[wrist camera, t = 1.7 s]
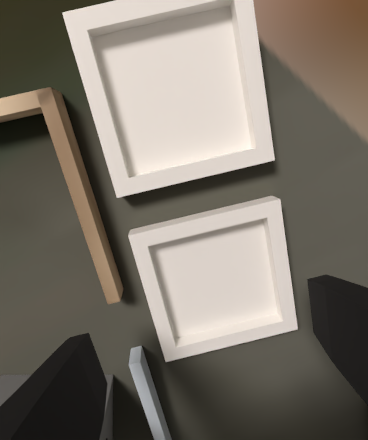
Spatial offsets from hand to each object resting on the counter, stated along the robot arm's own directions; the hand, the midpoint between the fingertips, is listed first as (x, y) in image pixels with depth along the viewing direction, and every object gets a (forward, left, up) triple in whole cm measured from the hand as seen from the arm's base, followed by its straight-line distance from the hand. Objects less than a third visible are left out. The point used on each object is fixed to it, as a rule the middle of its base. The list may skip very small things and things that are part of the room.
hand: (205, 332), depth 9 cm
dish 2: (-1, 0, -3) cm, 4 cm away
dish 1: (-1, -8, -3) cm, 8 cm away
